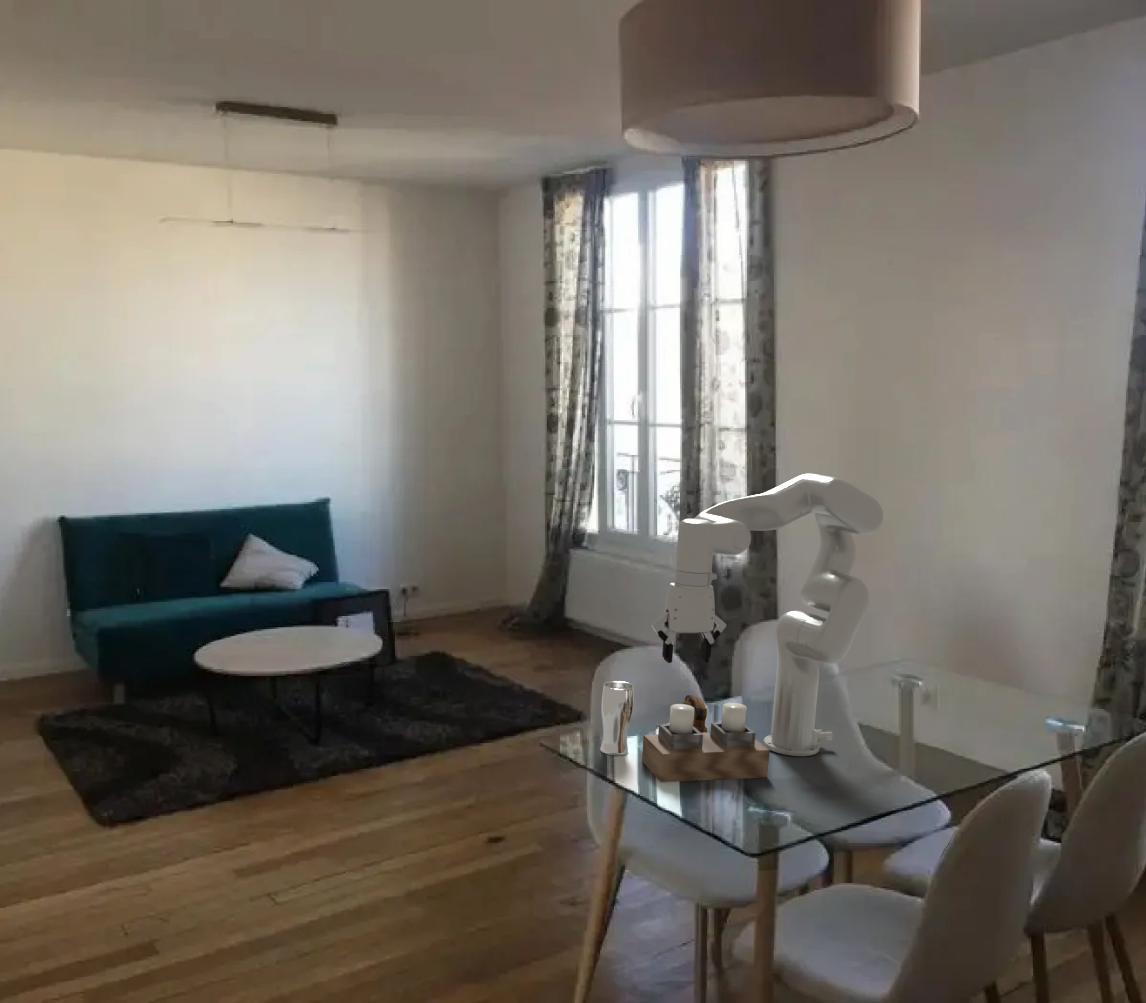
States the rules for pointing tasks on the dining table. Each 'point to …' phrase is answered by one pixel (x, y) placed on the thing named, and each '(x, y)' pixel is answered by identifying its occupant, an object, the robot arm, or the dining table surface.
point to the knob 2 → (734, 717)
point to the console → (705, 755)
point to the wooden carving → (697, 712)
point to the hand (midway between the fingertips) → (686, 660)
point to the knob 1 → (681, 719)
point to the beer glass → (616, 716)
